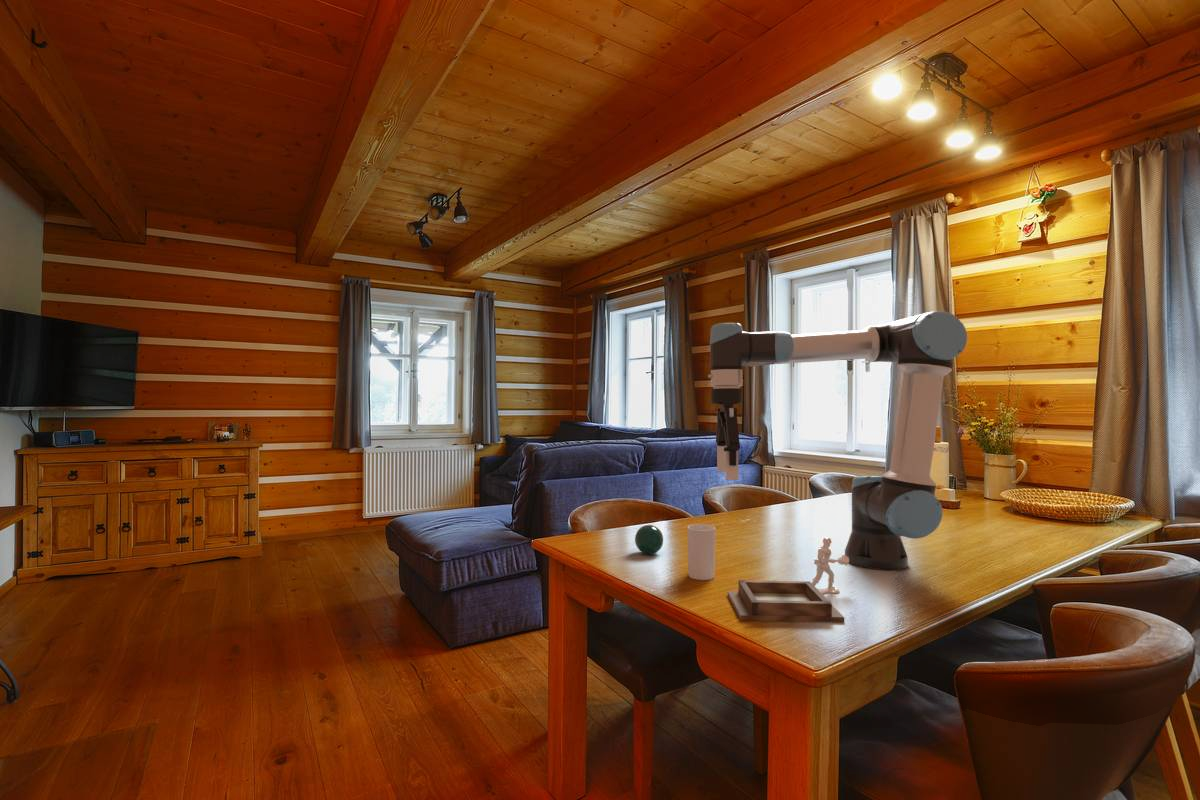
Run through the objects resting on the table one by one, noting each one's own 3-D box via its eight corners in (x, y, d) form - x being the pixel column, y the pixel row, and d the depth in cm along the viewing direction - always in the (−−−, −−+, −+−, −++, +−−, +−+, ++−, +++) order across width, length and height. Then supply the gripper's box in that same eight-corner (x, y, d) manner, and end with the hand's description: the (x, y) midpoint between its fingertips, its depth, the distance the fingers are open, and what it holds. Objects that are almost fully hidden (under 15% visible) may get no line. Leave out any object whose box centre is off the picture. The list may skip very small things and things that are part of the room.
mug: (717, 581, 135) (717, 530, 135) (688, 580, 136) (688, 530, 136) (711, 568, 145) (711, 521, 145) (685, 567, 146) (685, 521, 146)
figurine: (803, 590, 128) (803, 537, 128) (834, 585, 132) (834, 534, 132) (819, 597, 124) (819, 542, 124) (850, 591, 128) (851, 538, 128)
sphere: (629, 554, 158) (629, 526, 158) (644, 548, 164) (644, 520, 164) (654, 559, 153) (654, 529, 153) (668, 552, 160) (668, 524, 160)
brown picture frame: (819, 597, 124) (819, 581, 124) (844, 622, 110) (844, 604, 110) (727, 595, 125) (727, 579, 125) (740, 620, 111) (740, 602, 111)
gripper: (704, 388, 150) (705, 469, 150) (718, 386, 125) (719, 483, 125) (733, 388, 149) (734, 468, 149) (752, 386, 124) (753, 483, 124)
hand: (727, 475), depth 137 cm, fingers open, 13 cm apart
